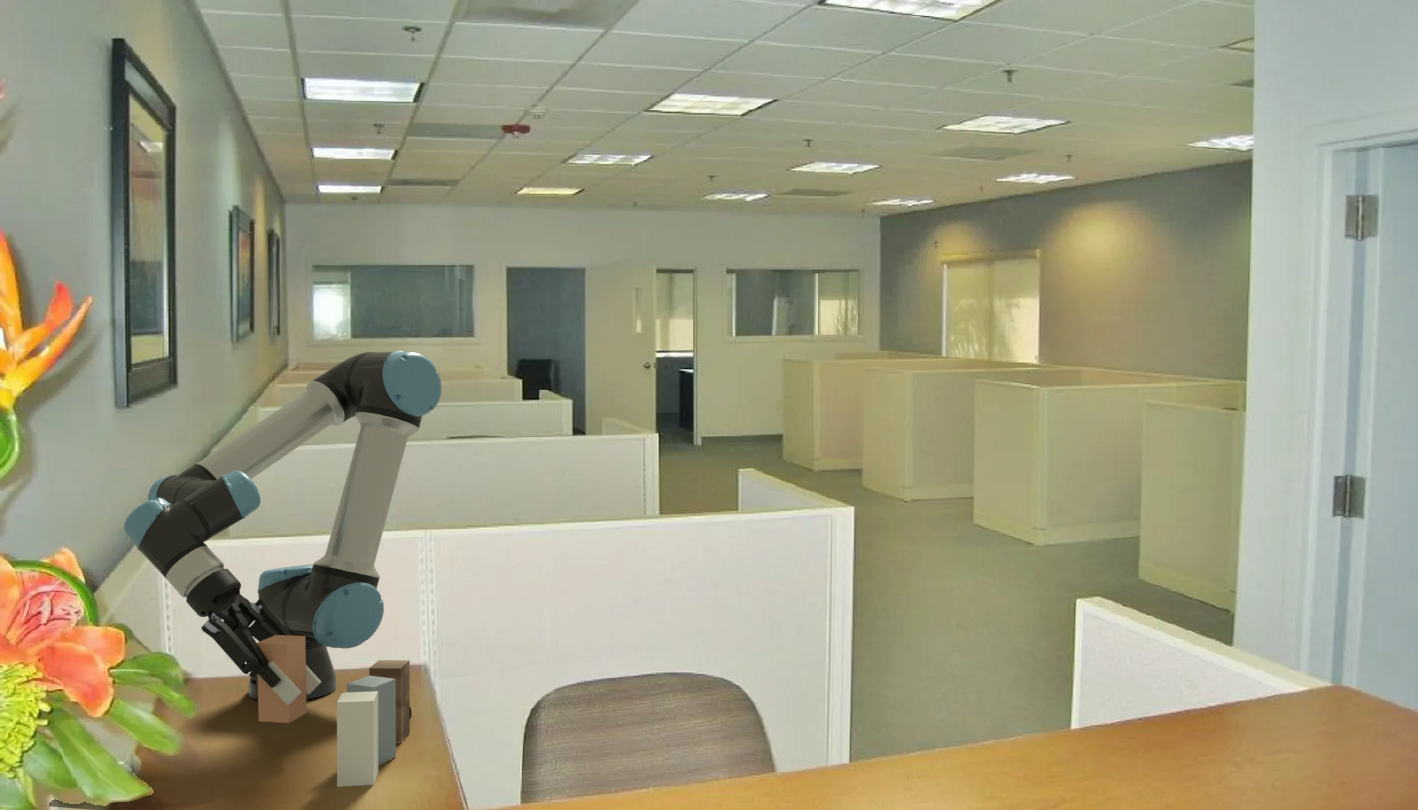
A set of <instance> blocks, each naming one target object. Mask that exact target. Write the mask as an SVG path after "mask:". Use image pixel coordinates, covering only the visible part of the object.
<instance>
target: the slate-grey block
mask: <svg viewBox="0 0 1418 810" xmlns="http://www.w3.org/2000/svg"><path fill="white" fill-rule="evenodd" d="M370 691H378V767H379V766H381V765H383V764H385V763H387V762H389V761H391V760H392V759H391V758H393V757H395V756H396V757H397V744H396V679H392V678H384V677H376V676H369V675H367V676H365V677H362V678H359V679H356V680H352V681H351V682H347V683H346V692H370ZM396 757H395V758H396ZM390 759H391V760H390ZM393 759H394V758H393ZM388 760H389V761H388Z"/></svg>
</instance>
